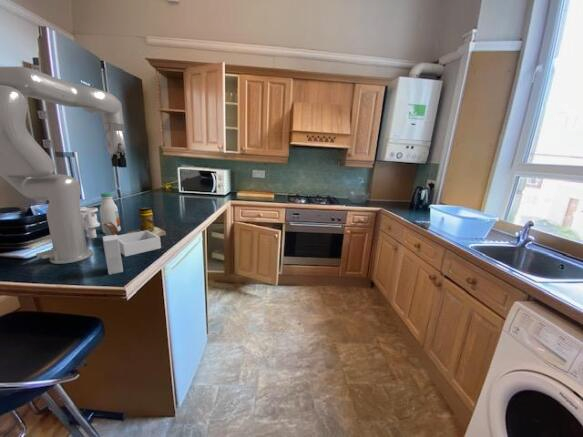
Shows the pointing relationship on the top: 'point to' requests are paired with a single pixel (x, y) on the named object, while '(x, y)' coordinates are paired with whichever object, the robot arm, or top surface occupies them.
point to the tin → (110, 229)
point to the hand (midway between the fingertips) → (119, 166)
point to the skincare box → (112, 254)
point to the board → (158, 233)
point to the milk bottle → (109, 211)
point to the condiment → (146, 220)
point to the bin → (138, 242)
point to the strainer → (90, 220)
